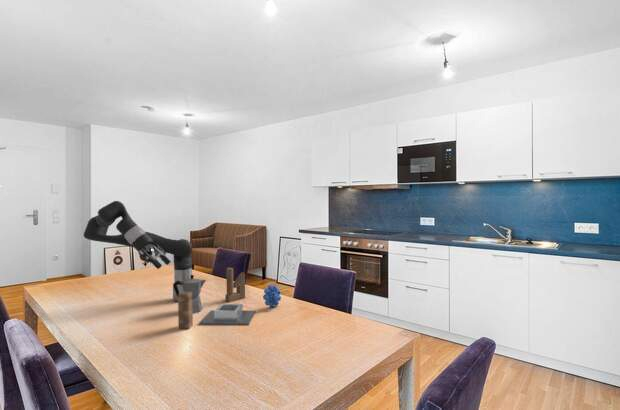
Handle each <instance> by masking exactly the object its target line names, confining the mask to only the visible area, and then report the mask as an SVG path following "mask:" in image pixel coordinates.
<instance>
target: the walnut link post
mask: <svg viewBox="0 0 620 410" xmlns="http://www.w3.org/2000/svg"><path fill="white" fill-rule="evenodd" d="M177 311H178V312H177V314H178V318H177V319H178V320H177V322H178V323H177V324H178V326H177V327H178V330H190V329H191V328H192V327H193V326H194V321H193V319H194V318H193V317H194V316H193V315H194V313H193V304H192V292H181V293H179V294H178V302H177Z"/></svg>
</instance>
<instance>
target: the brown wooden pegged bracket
mask: <svg viewBox="0 0 620 410" xmlns="http://www.w3.org/2000/svg"><path fill="white" fill-rule="evenodd" d="M225 271H226V272H225V273H226V274H225V275H226V294H225V298H224V299H225V302H227V303H231V302H235V301H238V300H243V299H246V273H245V272H242V271H241V272H240V273H239V275H237V277H236V279H235V281H234V268H233V267H227V268H226V270H225ZM235 288H236V291H235V292H234V289H235Z"/></svg>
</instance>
